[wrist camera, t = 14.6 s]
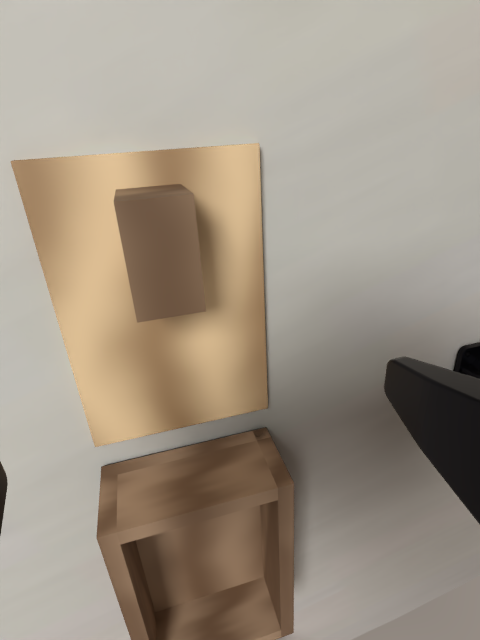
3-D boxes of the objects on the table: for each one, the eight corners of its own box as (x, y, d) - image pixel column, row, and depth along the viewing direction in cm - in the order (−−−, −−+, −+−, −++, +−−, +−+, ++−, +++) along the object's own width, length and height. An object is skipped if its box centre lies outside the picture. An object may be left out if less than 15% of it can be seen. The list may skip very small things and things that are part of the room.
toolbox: (266, 427, 27) (301, 497, 21) (272, 589, 35) (298, 668, 30) (101, 466, 24) (95, 556, 19) (149, 630, 33) (154, 724, 27)
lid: (253, 143, 19) (290, 144, 15) (263, 399, 26) (290, 450, 22) (16, 160, 17) (-21, 167, 13) (96, 435, 24) (89, 501, 20)
